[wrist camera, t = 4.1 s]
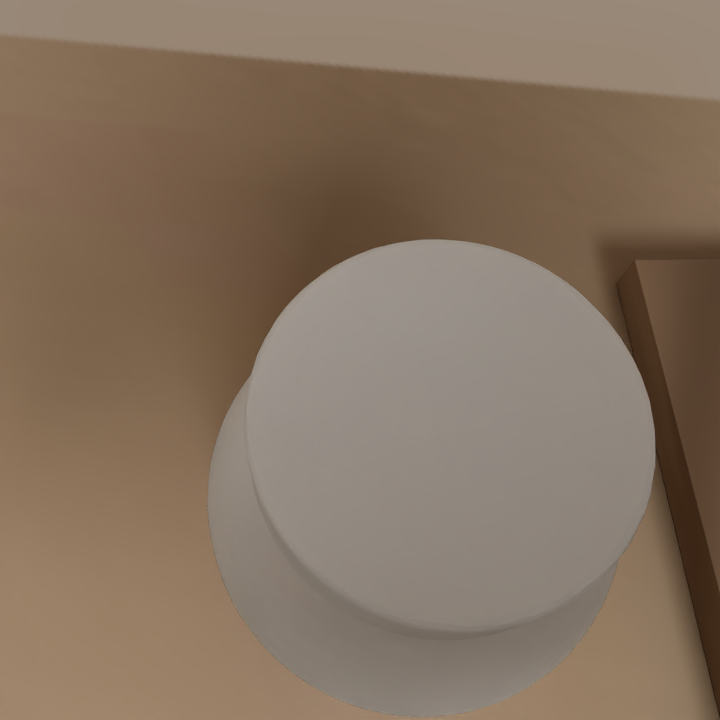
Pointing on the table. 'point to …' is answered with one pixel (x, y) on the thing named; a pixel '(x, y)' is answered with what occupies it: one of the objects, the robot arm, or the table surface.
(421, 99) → the table surface
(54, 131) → the table surface
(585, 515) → the supplement bottle
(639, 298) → the square brown tray
